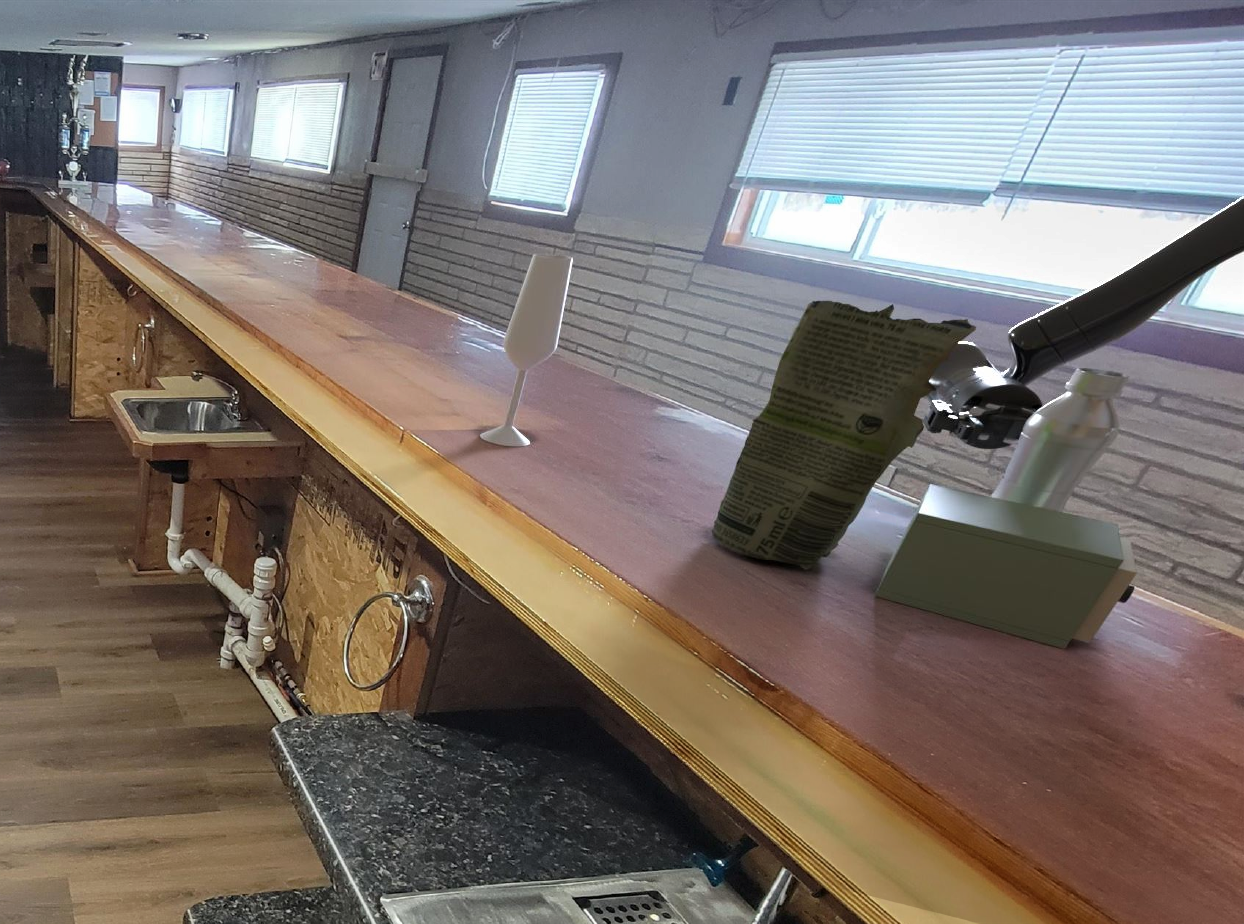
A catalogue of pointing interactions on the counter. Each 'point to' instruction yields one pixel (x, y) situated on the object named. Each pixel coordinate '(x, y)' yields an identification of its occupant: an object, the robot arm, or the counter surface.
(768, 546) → the pouch
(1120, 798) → the counter surface
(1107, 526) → the cabinet
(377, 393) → the counter surface
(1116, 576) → the drawer
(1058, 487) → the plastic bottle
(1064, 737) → the counter surface
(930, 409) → the robot arm
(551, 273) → the champagne flute
